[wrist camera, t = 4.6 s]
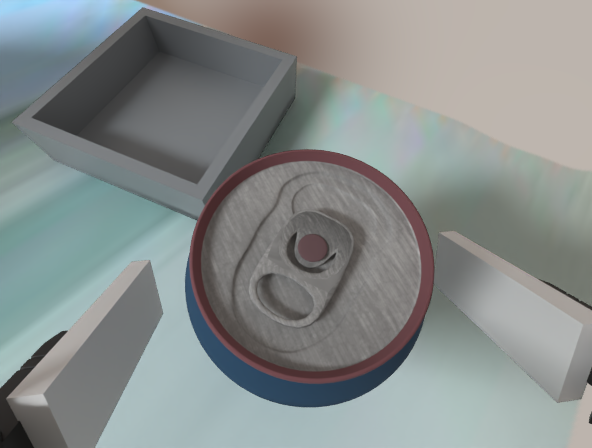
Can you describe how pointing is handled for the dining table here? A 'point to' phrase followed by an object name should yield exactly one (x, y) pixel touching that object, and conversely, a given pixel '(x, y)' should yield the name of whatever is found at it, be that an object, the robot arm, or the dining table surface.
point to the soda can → (308, 277)
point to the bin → (164, 109)
